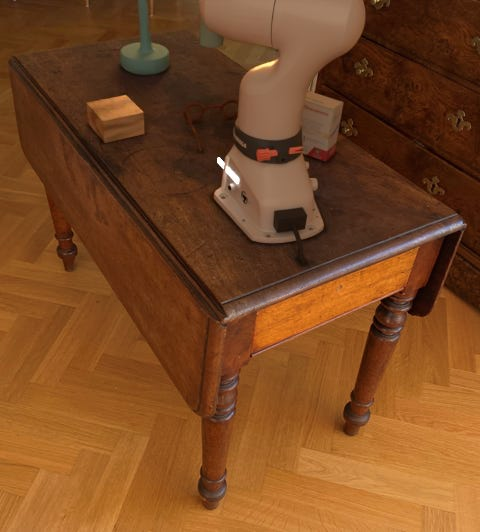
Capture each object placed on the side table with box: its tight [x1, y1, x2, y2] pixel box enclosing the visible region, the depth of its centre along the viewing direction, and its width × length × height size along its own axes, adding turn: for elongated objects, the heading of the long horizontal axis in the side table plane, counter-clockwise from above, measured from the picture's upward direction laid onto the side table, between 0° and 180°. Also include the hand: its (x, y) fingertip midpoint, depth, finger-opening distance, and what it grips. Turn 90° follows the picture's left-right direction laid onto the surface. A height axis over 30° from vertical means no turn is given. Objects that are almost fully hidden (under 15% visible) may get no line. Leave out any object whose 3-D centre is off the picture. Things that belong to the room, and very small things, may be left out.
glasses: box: [182, 99, 239, 153], centre depth 129 cm, size 13×13×5 cm
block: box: [85, 94, 145, 144], centre depth 128 cm, size 9×9×5 cm
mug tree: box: [119, 0, 171, 76], centre depth 147 cm, size 12×12×25 cm
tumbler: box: [198, 13, 225, 49], centre depth 145 cm, size 6×6×10 cm
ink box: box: [301, 90, 344, 162], centre depth 124 cm, size 9×5×12 cm, turn 57°
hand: (208, 20), depth 144 cm, fingers closed on tumbler, 6 cm apart
